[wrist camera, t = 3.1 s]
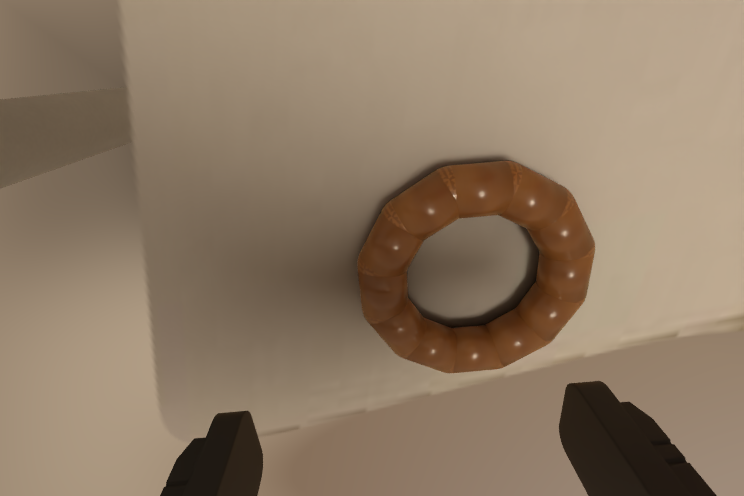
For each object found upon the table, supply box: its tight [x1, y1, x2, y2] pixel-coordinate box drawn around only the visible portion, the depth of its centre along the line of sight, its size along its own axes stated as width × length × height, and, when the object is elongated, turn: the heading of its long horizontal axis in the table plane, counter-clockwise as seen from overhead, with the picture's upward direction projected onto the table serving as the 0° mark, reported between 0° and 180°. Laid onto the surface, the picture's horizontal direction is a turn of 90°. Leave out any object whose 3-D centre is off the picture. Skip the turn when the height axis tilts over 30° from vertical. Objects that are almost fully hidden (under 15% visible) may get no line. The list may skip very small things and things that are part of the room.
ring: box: [357, 161, 595, 373], centre depth 16 cm, size 10×10×2 cm
